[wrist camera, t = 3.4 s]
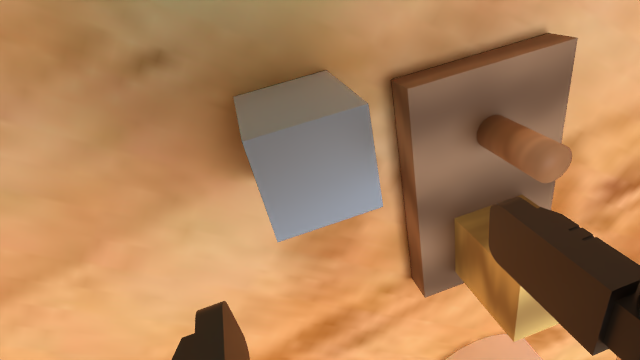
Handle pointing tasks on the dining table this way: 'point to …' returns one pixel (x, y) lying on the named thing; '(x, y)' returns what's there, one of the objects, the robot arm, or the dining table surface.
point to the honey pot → (496, 350)
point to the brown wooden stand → (481, 164)
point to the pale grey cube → (310, 152)
